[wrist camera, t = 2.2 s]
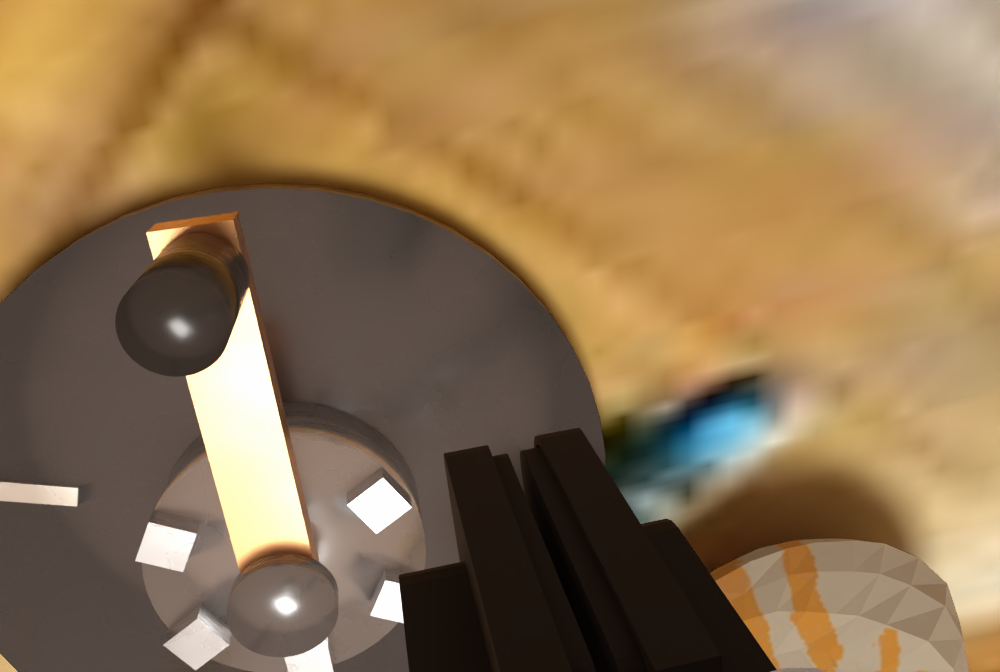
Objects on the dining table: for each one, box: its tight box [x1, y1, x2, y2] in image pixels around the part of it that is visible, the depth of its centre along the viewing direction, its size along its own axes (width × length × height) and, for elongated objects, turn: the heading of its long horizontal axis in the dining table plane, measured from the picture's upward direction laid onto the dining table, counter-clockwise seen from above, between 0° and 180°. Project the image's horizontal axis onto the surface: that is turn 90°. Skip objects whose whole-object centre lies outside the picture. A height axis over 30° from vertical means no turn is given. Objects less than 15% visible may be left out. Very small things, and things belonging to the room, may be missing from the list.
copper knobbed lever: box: [115, 212, 426, 672], centre depth 27 cm, size 18×10×9 cm, turn 6°
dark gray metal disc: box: [0, 183, 605, 672], centre depth 33 cm, size 26×26×1 cm
